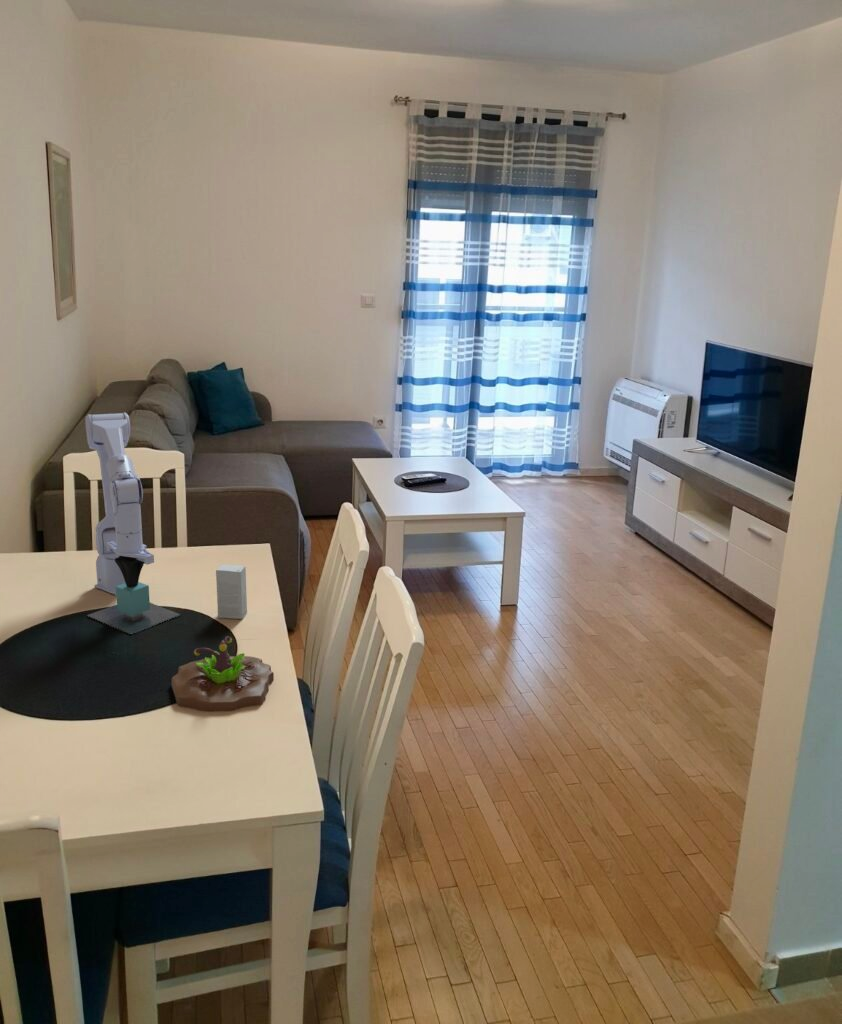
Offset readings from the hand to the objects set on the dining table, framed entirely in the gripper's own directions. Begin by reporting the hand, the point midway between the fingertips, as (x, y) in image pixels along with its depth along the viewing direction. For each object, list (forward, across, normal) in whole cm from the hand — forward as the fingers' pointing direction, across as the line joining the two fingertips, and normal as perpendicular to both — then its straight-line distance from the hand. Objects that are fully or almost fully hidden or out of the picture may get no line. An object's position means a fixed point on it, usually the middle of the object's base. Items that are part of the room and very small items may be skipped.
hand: (132, 586), depth 208 cm
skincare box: (+8, -17, -15) cm, 24 cm away
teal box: (+6, 0, 0) cm, 6 cm away
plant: (+8, -42, +11) cm, 44 cm away
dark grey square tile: (+8, 0, 0) cm, 8 cm away
